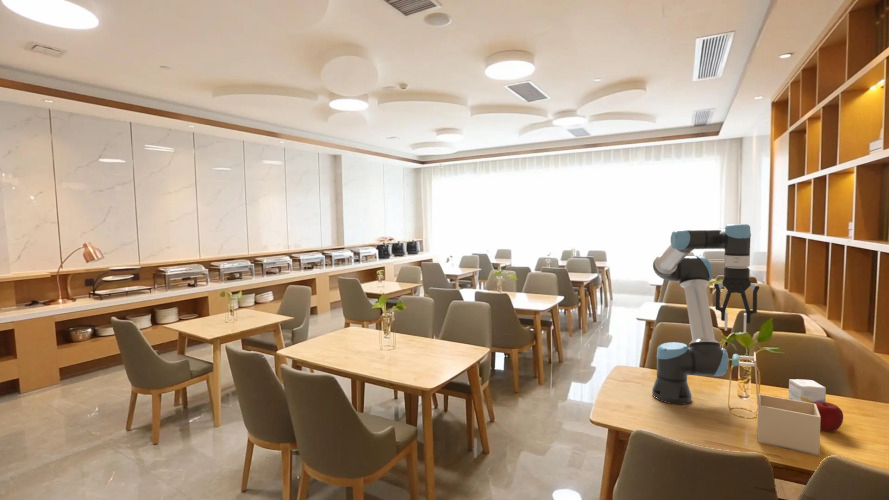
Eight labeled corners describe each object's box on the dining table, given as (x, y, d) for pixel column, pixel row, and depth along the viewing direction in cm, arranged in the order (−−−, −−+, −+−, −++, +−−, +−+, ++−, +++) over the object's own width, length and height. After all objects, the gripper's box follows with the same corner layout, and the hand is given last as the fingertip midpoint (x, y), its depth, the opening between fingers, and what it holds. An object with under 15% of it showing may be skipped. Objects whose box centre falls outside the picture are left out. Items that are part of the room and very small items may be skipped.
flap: (758, 404, 146) (734, 401, 150) (758, 393, 155) (735, 390, 160) (755, 360, 146) (731, 358, 150) (755, 352, 155) (732, 350, 159)
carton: (757, 442, 147) (758, 405, 146) (757, 428, 156) (758, 393, 156) (819, 456, 137) (820, 417, 137) (814, 440, 147) (815, 403, 146)
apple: (831, 424, 158) (832, 398, 157) (849, 437, 149) (850, 409, 148) (802, 422, 160) (802, 396, 160) (818, 434, 151) (819, 407, 150)
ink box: (825, 417, 164) (827, 387, 163) (800, 415, 166) (801, 386, 165) (811, 407, 172) (812, 379, 172) (787, 406, 174) (788, 378, 173)
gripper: (706, 267, 155) (705, 329, 157) (768, 269, 145) (766, 336, 146) (708, 265, 161) (707, 325, 163) (768, 267, 151) (766, 331, 152)
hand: (735, 330), depth 154 cm, fingers open, 5 cm apart
